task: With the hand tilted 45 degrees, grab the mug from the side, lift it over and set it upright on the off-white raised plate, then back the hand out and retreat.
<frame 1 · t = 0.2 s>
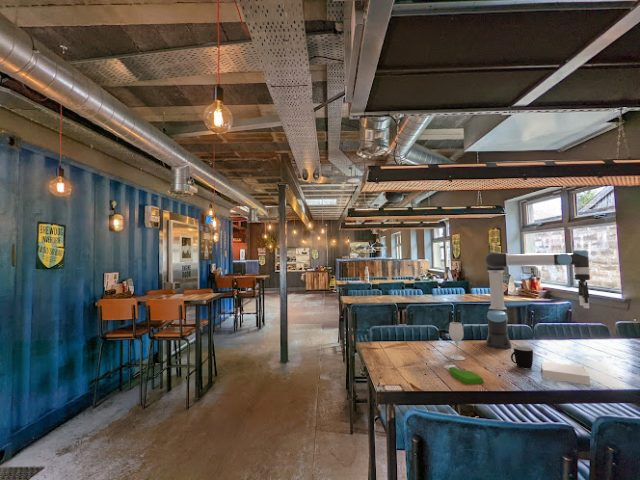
hand: (584, 306, 203), 28 cm above the table, tool pointing down, fingers open, 13 cm apart
spray bottle: (460, 376, 163), on the table
wineglass: (457, 358, 191), on the table
mug: (521, 367, 174), on the table
raised plate: (564, 376, 159), on the table
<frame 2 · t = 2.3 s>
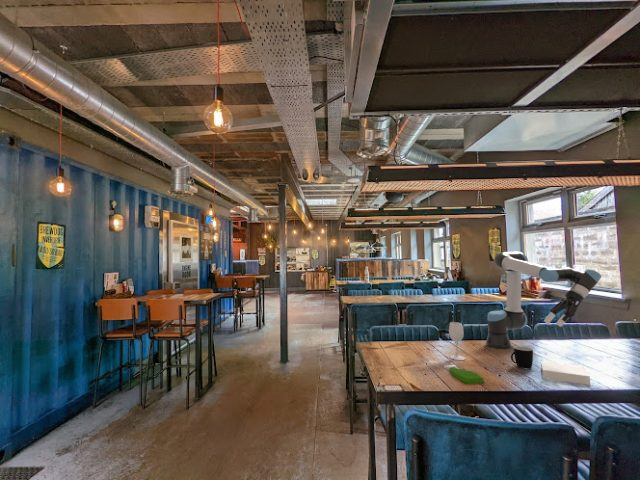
hand: (551, 323, 174), 24 cm above the table, tool tilted 40°, fingers open, 13 cm apart
nothing on the table moved.
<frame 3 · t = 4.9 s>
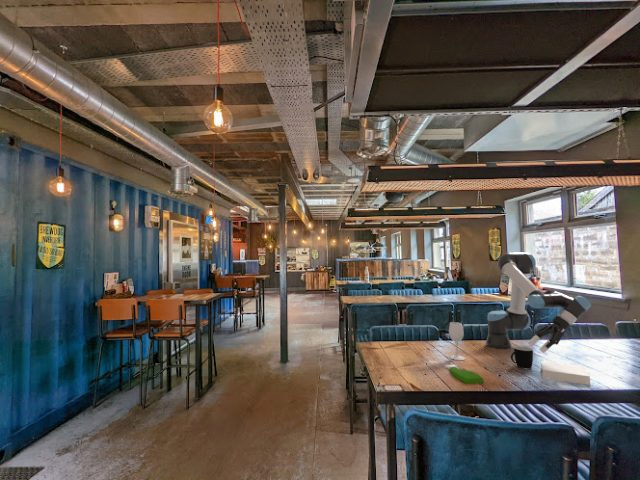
hand: (535, 347, 172), 11 cm above the table, tool tilted 45°, fingers open, 13 cm apart
nothing on the table moved.
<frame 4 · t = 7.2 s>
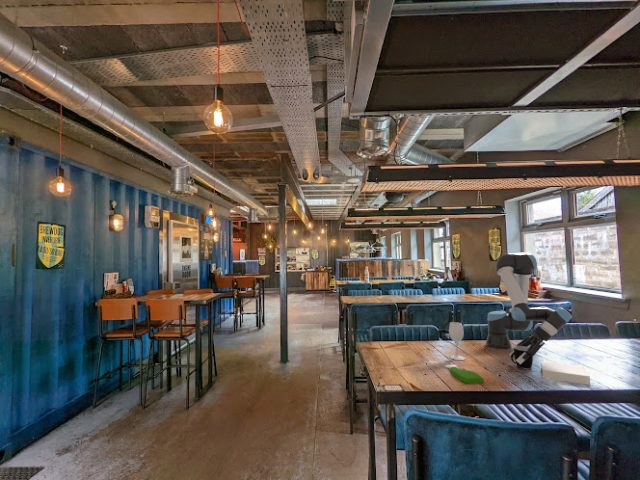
hand: (514, 359, 175), 4 cm above the table, tool tilted 45°, fingers closed on mug, 9 cm apart
mug: (521, 367, 174), on the table, touching gripper
everything else where it was.
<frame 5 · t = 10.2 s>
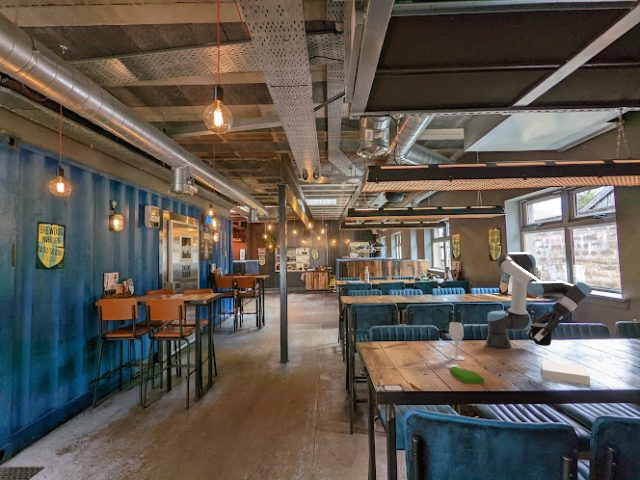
hand: (532, 337, 168), 18 cm above the table, tool tilted 45°, fingers closed on mug, 9 cm apart
mug: (540, 345, 166), point 14 cm above the table, touching gripper
when the fingers open (9 cm above the table, at t = 13.2 s): mug stays where it is, resting on raised plate.
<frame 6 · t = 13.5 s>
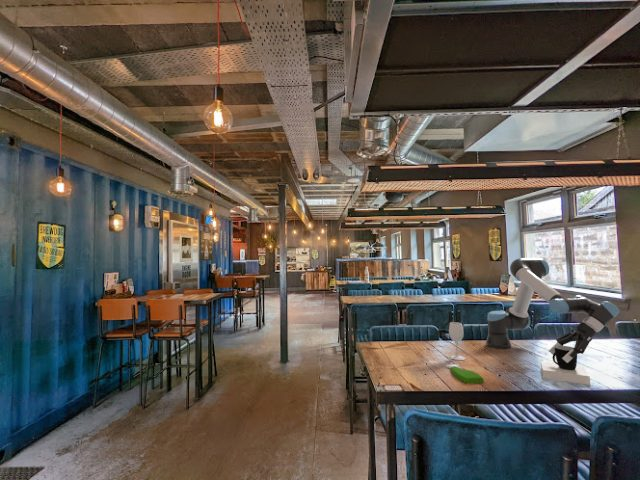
hand: (557, 356, 160), 10 cm above the table, tool tilted 45°, fingers open, 13 cm apart
mug: (564, 368, 159), point 4 cm above the table, touching raised plate
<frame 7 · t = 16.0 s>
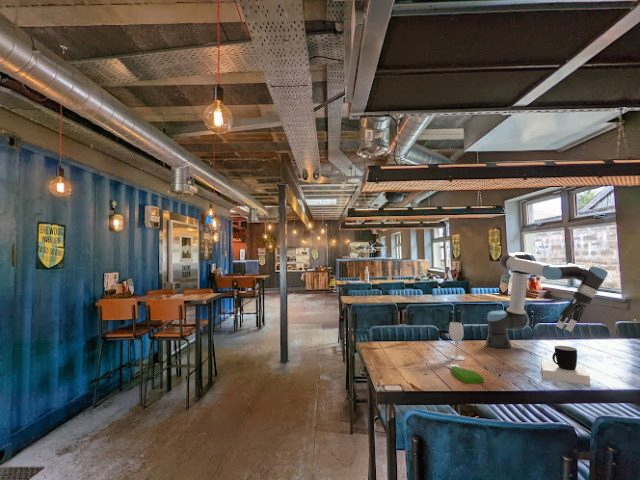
hand: (563, 328, 169), 22 cm above the table, tool tilted 30°, fingers open, 13 cm apart
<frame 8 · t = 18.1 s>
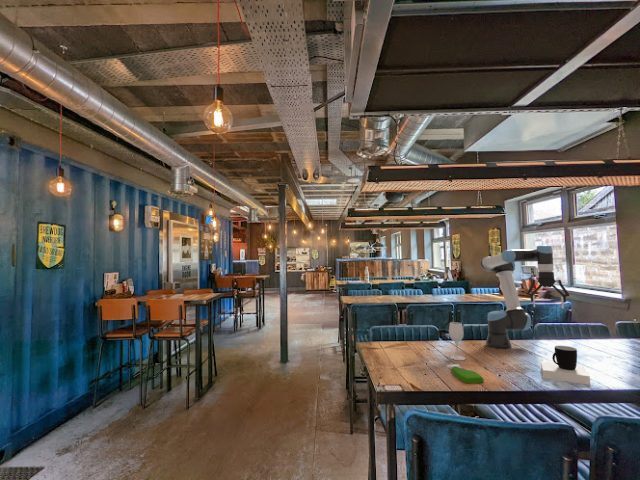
hand: (548, 307, 185), 31 cm above the table, tool pointing down, fingers open, 13 cm apart
at the end: mug inside the target area on the raised plate (0.5 cm from its centre), point 3.8 cm above the raised plate's base; mug tilted 0°; mug touching raised plate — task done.
